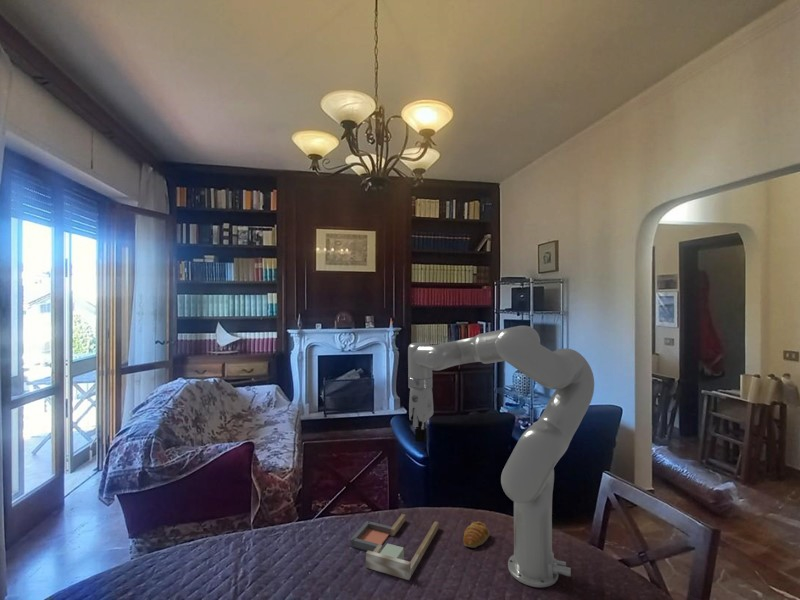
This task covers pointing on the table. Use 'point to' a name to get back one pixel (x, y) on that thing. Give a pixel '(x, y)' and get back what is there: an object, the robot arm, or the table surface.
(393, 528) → the wooden channel walls
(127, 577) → the table surface
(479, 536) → the pastry
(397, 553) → the block
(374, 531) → the tray
